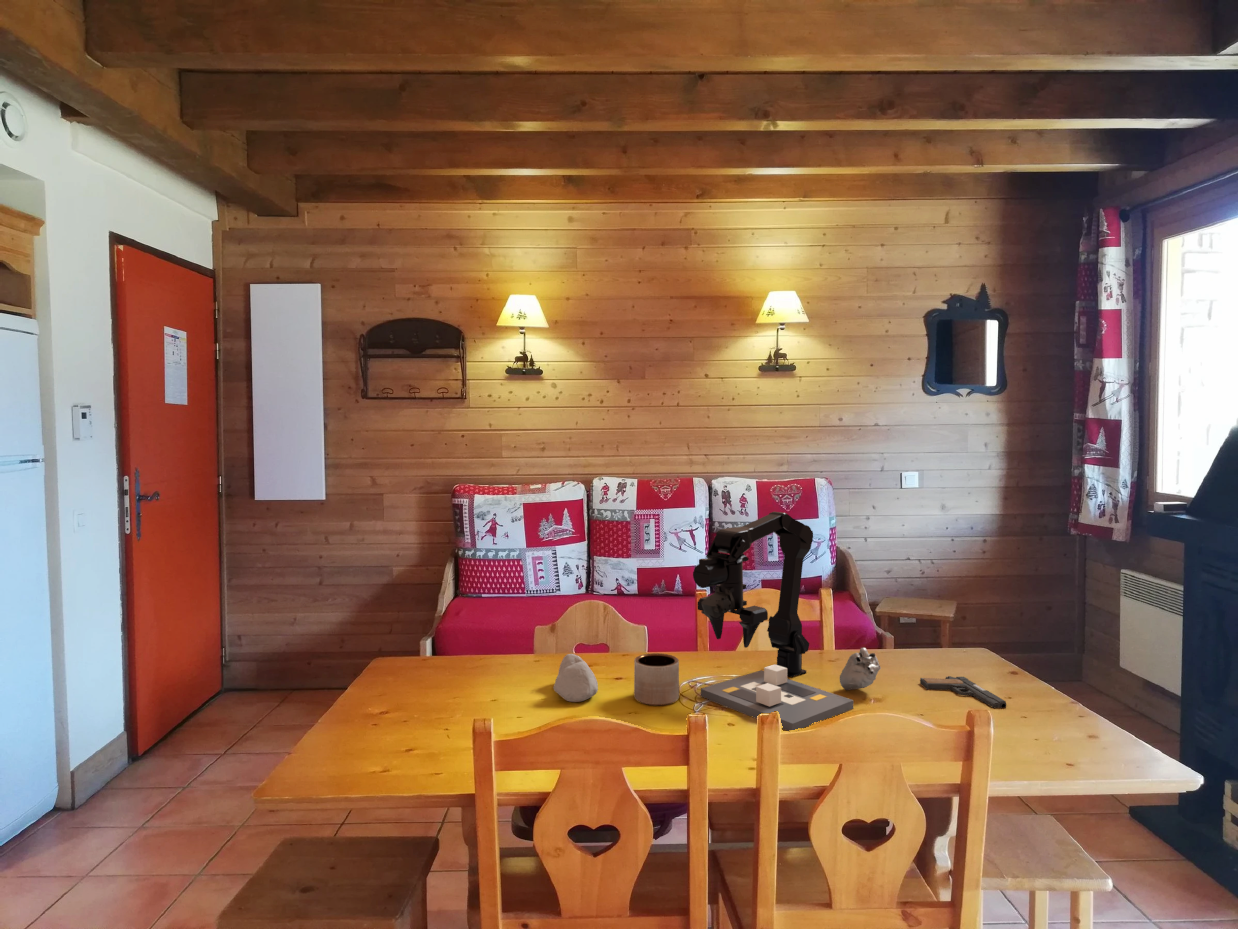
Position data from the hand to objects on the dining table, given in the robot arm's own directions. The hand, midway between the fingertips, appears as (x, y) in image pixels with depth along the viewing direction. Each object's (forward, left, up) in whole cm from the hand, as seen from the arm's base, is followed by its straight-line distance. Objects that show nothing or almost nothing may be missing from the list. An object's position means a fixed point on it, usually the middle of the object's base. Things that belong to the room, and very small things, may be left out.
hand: (732, 643), depth 194 cm
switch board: (-2, +12, -12) cm, 17 cm away
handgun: (-41, +37, -13) cm, 57 cm away
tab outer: (+4, +15, -10) cm, 18 cm away
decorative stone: (+31, -24, -12) cm, 41 cm away
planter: (+18, -8, -12) cm, 23 cm away
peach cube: (-8, +7, -10) cm, 14 cm away
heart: (-24, +20, -12) cm, 34 cm away
